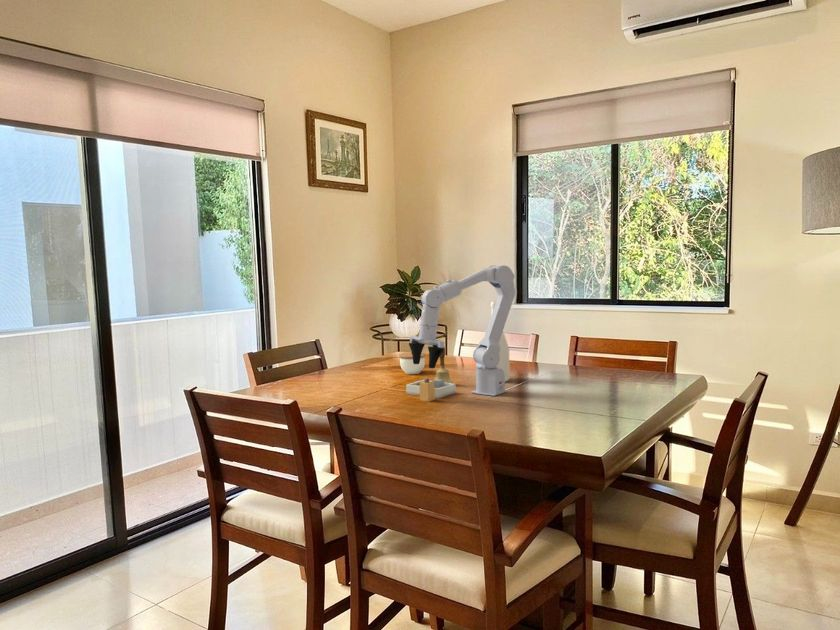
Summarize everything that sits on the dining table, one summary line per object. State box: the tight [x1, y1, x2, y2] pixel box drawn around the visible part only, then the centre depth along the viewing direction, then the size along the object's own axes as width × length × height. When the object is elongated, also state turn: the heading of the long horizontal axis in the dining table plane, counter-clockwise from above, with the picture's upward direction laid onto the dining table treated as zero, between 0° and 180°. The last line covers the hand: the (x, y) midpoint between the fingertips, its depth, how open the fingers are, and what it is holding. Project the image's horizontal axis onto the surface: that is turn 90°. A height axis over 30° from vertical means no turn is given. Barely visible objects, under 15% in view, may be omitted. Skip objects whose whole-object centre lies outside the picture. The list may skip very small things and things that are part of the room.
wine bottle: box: [490, 300, 511, 383], centre depth 230 cm, size 10×10×30 cm
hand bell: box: [434, 346, 455, 384], centre depth 226 cm, size 8×8×16 cm
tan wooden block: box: [419, 377, 436, 402], centre depth 202 cm, size 4×4×7 cm
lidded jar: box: [398, 351, 426, 375], centre depth 252 cm, size 11×11×9 cm
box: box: [405, 379, 457, 399], centre depth 212 cm, size 14×10×5 cm
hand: (423, 366), depth 204 cm, fingers open, 7 cm apart
